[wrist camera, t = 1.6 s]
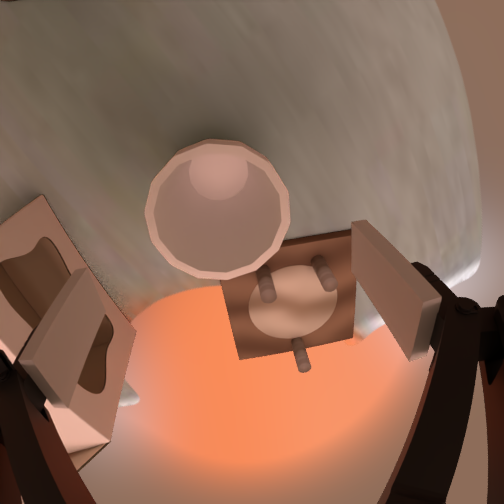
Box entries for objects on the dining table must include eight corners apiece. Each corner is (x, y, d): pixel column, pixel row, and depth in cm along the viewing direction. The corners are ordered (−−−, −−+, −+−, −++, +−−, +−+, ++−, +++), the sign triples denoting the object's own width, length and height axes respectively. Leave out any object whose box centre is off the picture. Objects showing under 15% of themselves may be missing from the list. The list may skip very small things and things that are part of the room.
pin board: (215, 252, 36) (215, 283, 30) (352, 229, 36) (375, 255, 30) (238, 352, 43) (242, 387, 38) (349, 330, 44) (364, 362, 38)
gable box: (-15, 238, 32) (-139, 380, 7) (42, 191, 30) (-132, 358, 6) (74, 355, 42) (23, 518, 17) (138, 332, 41) (100, 536, 16)
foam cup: (218, 106, 29) (216, 111, 17) (283, 169, 32) (319, 213, 21) (154, 174, 31) (118, 222, 20) (219, 230, 35) (220, 302, 23)
